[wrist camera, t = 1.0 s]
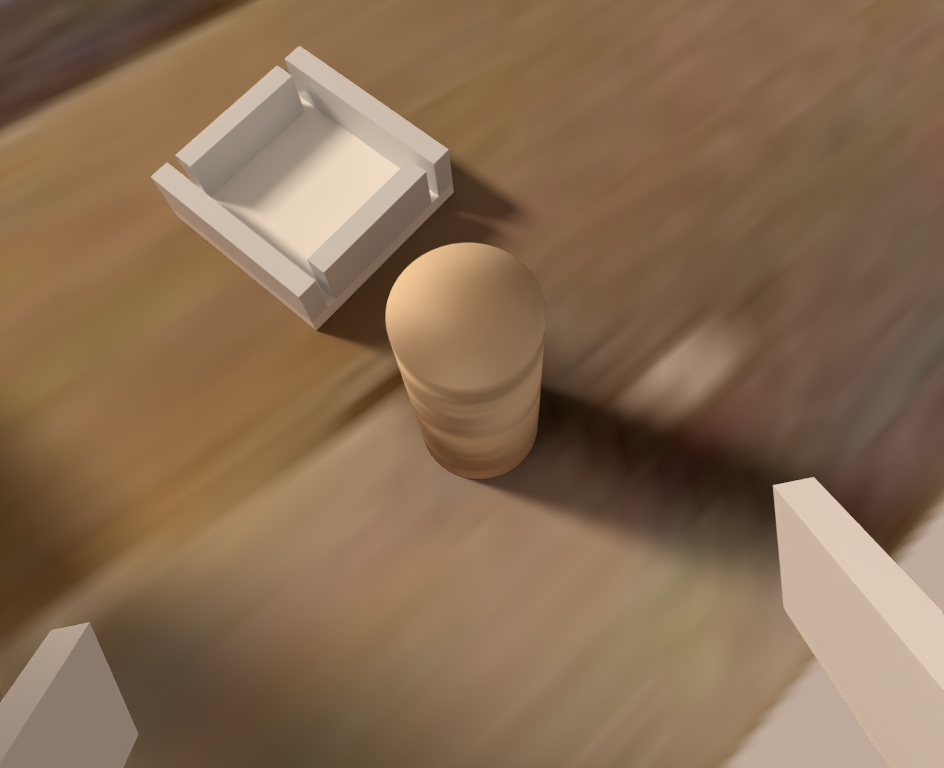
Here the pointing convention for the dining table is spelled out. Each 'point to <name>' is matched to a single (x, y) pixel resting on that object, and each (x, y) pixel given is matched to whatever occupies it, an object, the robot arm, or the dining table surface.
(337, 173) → the square tray
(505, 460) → the oak rail post
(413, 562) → the dining table surface
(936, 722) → the robot arm
